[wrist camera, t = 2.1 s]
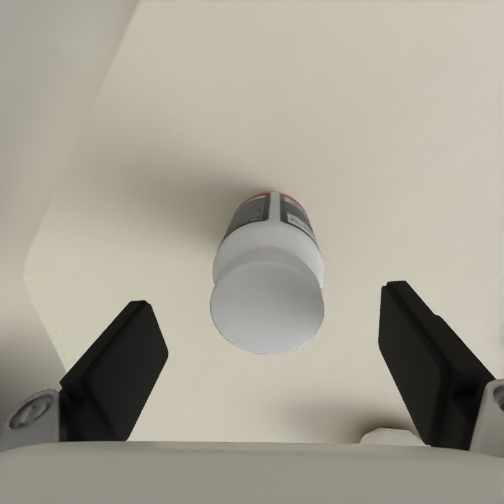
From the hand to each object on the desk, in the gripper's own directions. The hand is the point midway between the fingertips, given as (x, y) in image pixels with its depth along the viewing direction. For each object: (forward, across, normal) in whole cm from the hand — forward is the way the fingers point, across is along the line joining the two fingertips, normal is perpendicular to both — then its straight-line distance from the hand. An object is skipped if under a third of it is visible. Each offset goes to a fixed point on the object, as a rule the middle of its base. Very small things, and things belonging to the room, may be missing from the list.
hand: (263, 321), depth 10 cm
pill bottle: (+10, 0, 0) cm, 10 cm away
